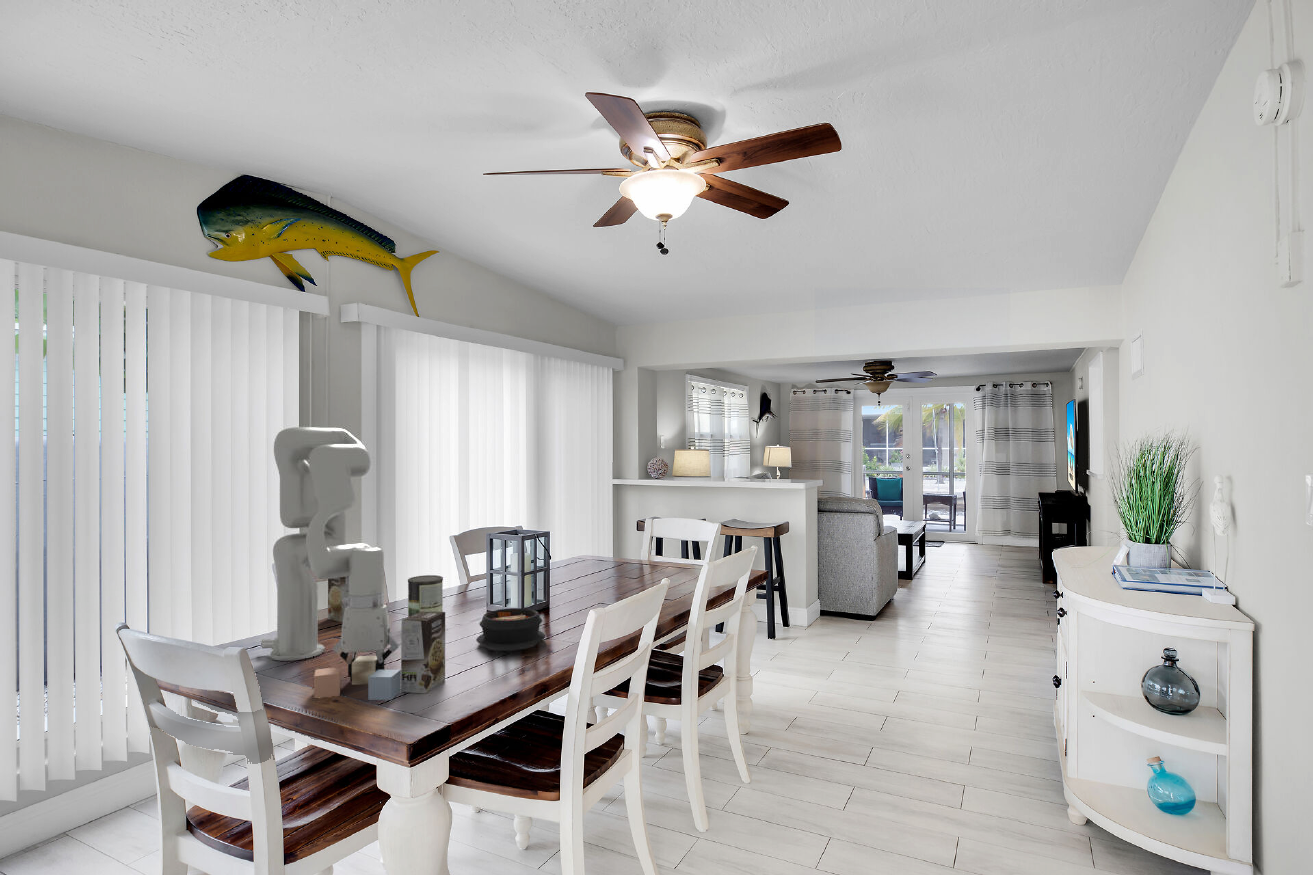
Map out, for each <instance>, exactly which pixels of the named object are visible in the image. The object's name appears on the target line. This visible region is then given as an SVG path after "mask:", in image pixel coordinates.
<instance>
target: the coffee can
mask: <svg viewBox="0 0 1313 875" xmlns="http://www.w3.org/2000/svg"><path fill="white" fill-rule="evenodd" d="M443 582H444V577H443V576H441V575H434V574H432V575H431V574H426V575H425V574H424V575H417V576H413V577H408V579H407V583H408V584H407V588H408V589H407V593H408V594H407V603H408V604H407V607H408V608H407V611H408V612H407V617H410V616H412V615H414V614H417V613H419V612H421V611H423V612H430V611H433V612H434V611H435V612H443V600H444V599H443V596H444V595H443V590H444V589H443V584H444V583H443Z"/></svg>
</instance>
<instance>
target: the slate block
mask: <svg viewBox="0 0 1313 875" xmlns="http://www.w3.org/2000/svg"><path fill="white" fill-rule="evenodd" d="M367 685H368V687H367V688H368V689H367V690H368V700H369V701H392V700H394V699H395V698H396V697H397V696H398V695H399V694H400V693H401V669H384V670H377V671H376V672H375V673H373V674H372V675H370V676H369V677H368V684H367Z"/></svg>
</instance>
